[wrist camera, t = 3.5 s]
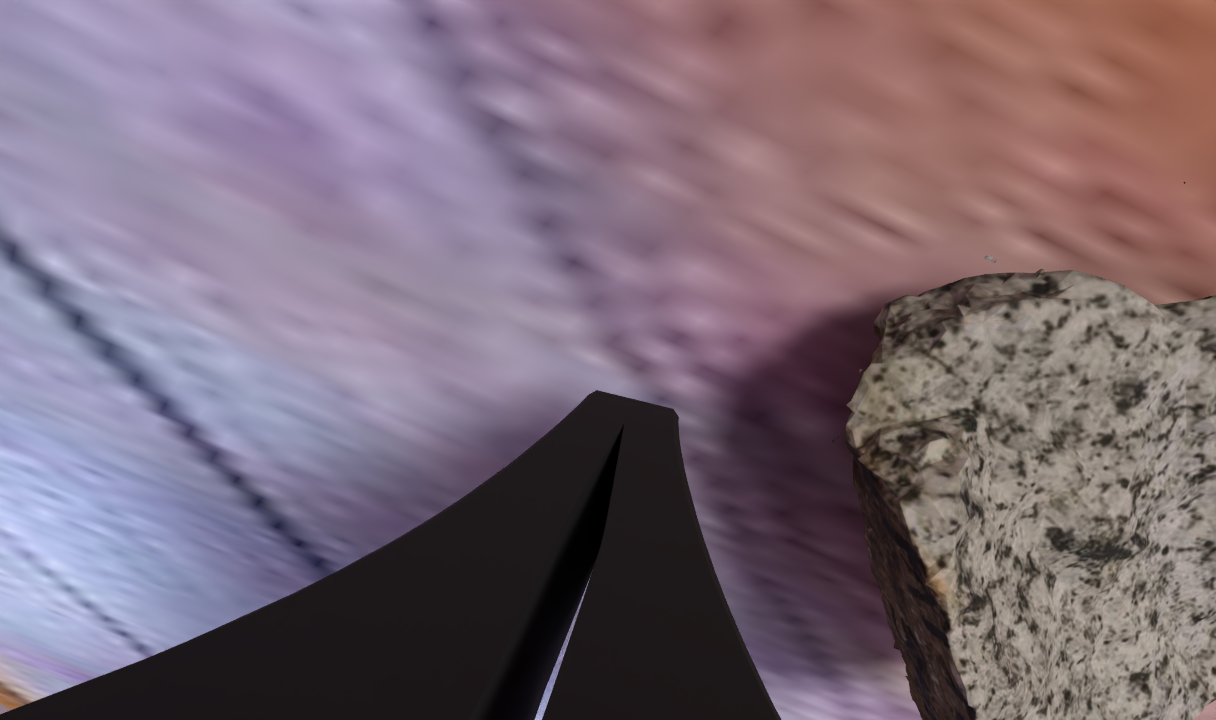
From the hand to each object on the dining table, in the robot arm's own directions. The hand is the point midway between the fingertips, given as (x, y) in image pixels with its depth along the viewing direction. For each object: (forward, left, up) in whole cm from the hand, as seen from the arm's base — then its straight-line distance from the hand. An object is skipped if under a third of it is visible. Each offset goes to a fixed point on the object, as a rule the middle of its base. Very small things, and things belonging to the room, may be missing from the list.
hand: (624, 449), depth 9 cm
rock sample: (0, -7, -3) cm, 8 cm away
